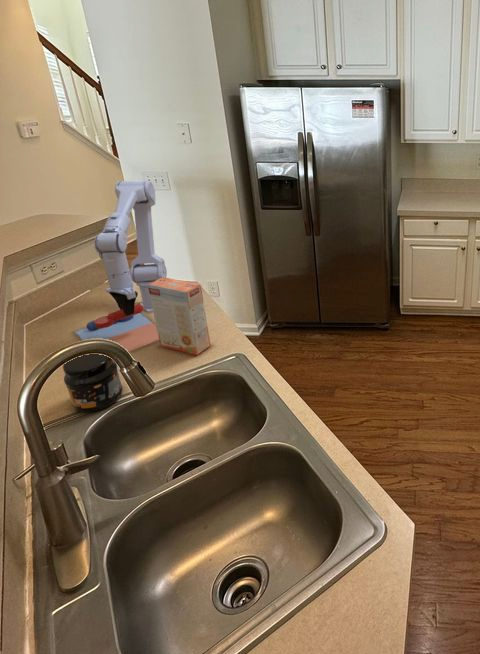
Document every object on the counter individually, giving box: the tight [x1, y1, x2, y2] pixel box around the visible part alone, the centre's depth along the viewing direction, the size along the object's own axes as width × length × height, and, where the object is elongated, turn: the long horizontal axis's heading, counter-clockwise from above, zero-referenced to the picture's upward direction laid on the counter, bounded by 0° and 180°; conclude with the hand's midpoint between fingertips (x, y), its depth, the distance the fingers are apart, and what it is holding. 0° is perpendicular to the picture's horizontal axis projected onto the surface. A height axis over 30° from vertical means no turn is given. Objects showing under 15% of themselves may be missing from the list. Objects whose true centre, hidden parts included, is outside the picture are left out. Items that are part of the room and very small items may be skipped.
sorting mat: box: [74, 312, 159, 353], centre depth 134 cm, size 18×24×1 cm
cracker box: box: [148, 277, 211, 356], centre depth 126 cm, size 14×6×21 cm, turn 71°
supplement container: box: [62, 354, 124, 413], centre depth 105 cm, size 10×10×12 cm
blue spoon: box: [85, 316, 133, 330], centre depth 139 cm, size 13×5×3 cm, turn 141°
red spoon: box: [93, 303, 145, 328], centre depth 129 cm, size 13×5×3 cm, turn 141°
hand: (127, 312), depth 131 cm, fingers closed on red spoon, 3 cm apart
